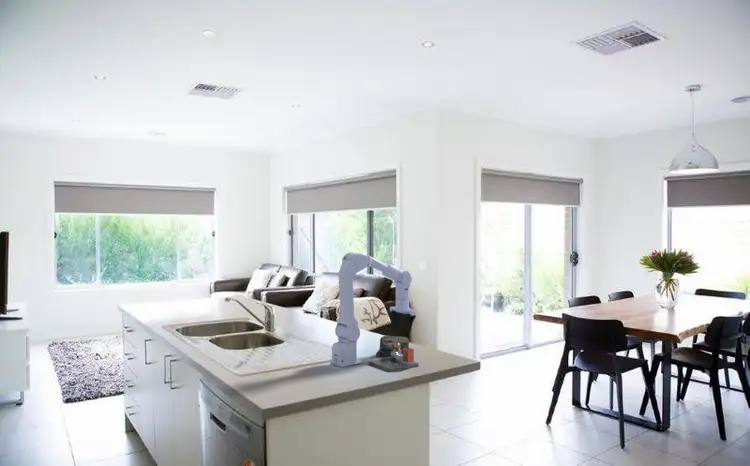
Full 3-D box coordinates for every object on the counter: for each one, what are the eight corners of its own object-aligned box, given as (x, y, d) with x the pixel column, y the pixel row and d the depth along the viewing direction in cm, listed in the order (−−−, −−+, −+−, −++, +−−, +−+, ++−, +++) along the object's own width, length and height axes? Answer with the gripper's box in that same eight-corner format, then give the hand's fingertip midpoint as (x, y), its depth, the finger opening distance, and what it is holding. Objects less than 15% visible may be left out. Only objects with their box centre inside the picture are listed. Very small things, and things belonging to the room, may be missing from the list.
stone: (391, 354, 212) (381, 332, 216) (377, 363, 217) (367, 341, 221) (416, 348, 227) (406, 328, 230) (402, 357, 231) (393, 337, 235)
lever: (389, 358, 209) (389, 344, 209) (395, 357, 210) (395, 343, 210) (407, 364, 199) (407, 350, 199) (413, 363, 201) (413, 349, 201)
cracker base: (390, 371, 194) (390, 353, 194) (368, 364, 206) (368, 346, 206) (419, 365, 203) (419, 348, 203) (396, 358, 214) (396, 341, 214)
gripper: (420, 299, 220) (420, 331, 220) (398, 296, 231) (398, 326, 231) (408, 300, 215) (408, 333, 215) (386, 297, 227) (386, 328, 227)
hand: (402, 330), depth 223 cm, fingers open, 7 cm apart
